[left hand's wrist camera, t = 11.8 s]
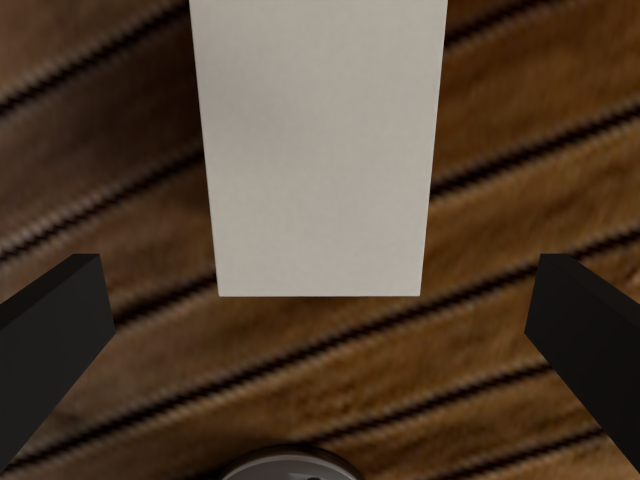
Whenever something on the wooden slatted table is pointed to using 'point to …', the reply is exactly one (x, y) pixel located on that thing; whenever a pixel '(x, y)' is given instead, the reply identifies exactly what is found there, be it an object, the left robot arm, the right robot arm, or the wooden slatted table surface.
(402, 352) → the wooden slatted table surface
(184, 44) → the wooden slatted table surface
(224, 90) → the cabinet
